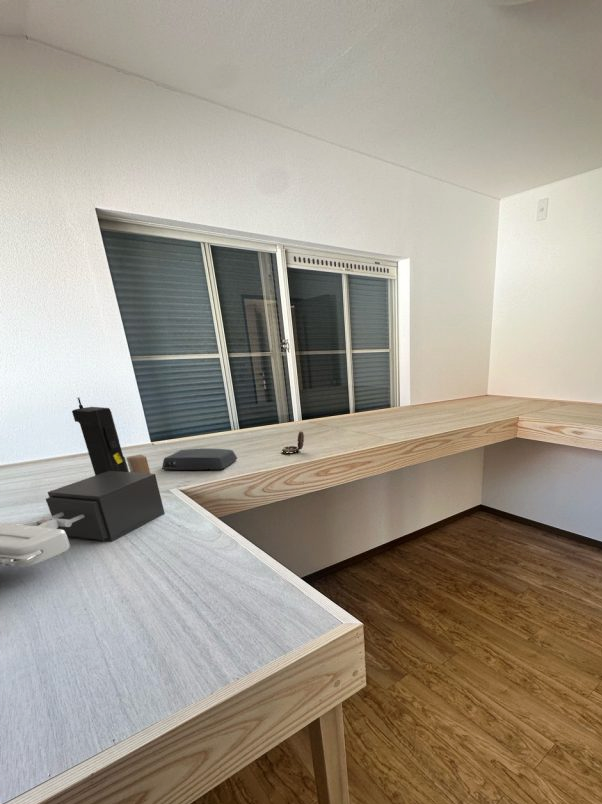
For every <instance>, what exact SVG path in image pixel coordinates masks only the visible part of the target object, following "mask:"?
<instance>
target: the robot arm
mask: <svg viewBox="0 0 602 804" xmlns="http://www.w3.org/2000/svg"><path fill="white" fill-rule="evenodd" d="M41 518H42V517H41ZM41 518H39V519H36V520H34V521H28V522H23V523H18V524H17V523H9V522H0V569H1V567H2V565H3V566H8V567H11V566H12V567H21V568H22V567H24V568H25V567H30V566H33V565H37V564H39V563H42V562H45V561H47V560H50V559H51V558H54V557H57V556H58V555H61V554H63V553H65V552H66V551H68V550H69V549H70V546H71V544H70V541H69V536H67V535H66V532H65V531H64V530H62V529H57V528H58V523H57V521H56V520H53V519H44V518H42V519H41Z"/></svg>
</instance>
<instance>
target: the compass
mask: <svg viewBox="0 0 602 804" xmlns="http://www.w3.org/2000/svg"><path fill="white" fill-rule="evenodd" d="M304 441H305V434H304V432H303V430H298V436H297V446H295V445H290V446H284V447H283V448H282V449H281V452H282V451H283V452H288V453H290V452H295V451H299V450H302V449H303V447H304V444H305V443H304ZM283 452H282V453H283ZM299 452H300V451H299Z"/></svg>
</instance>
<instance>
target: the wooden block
mask: <svg viewBox="0 0 602 804" xmlns="http://www.w3.org/2000/svg"><path fill="white" fill-rule="evenodd" d="M126 462H127V466H128V470H129V472H135V473H150V474H151V471H150V467H149V466H150V465H149V462H148V458H147V456H146V455H144V454H136V455H130V456H127V457H126Z"/></svg>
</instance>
